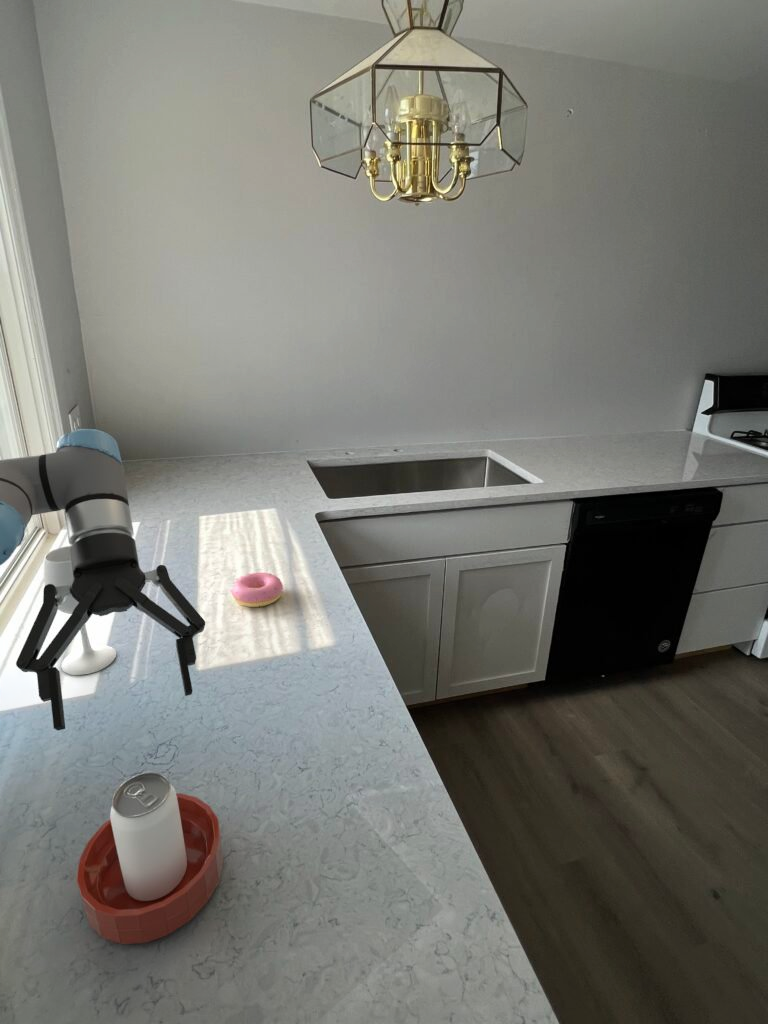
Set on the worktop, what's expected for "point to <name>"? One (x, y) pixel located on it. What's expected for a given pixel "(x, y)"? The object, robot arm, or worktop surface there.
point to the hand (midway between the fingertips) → (127, 710)
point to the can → (148, 836)
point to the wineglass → (62, 575)
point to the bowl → (156, 918)
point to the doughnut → (257, 589)
